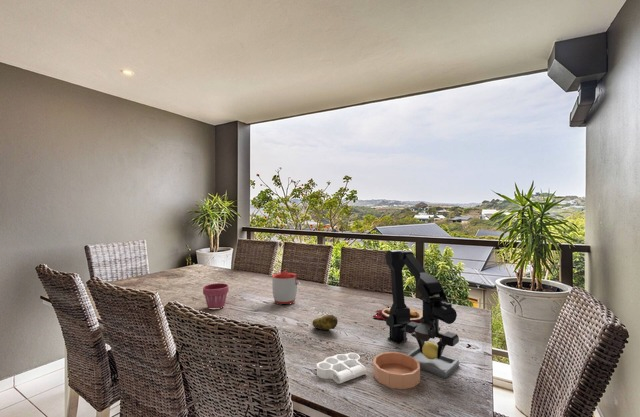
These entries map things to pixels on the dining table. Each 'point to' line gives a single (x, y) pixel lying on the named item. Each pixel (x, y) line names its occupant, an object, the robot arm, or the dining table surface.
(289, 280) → the citrus juicer
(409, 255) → the robot arm
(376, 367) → the bowl
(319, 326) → the potato
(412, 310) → the plate with food
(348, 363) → the white brass knuckles
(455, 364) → the tray
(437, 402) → the dining table surface
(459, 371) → the dining table surface
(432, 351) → the ball
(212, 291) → the plant pot
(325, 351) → the dining table surface
